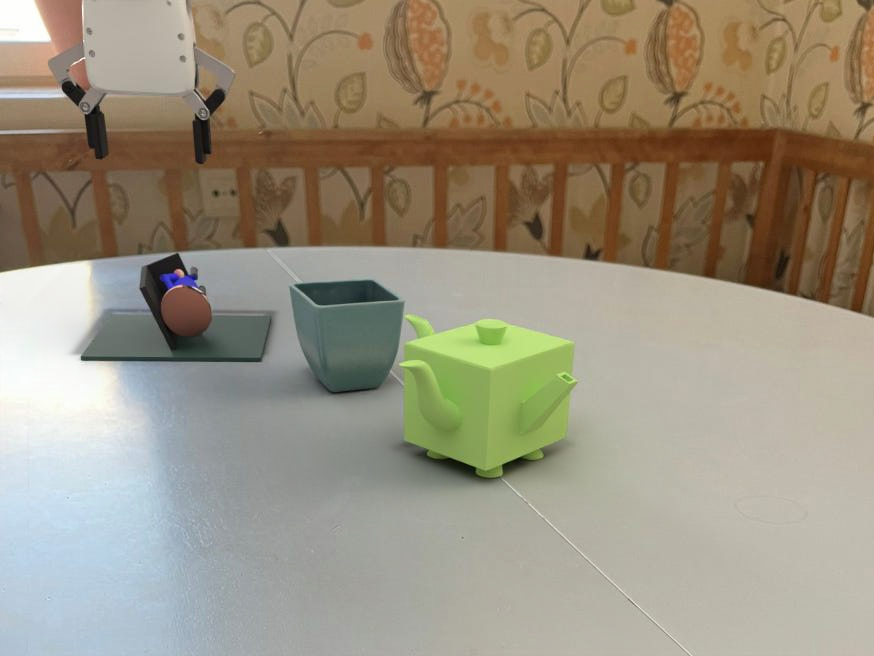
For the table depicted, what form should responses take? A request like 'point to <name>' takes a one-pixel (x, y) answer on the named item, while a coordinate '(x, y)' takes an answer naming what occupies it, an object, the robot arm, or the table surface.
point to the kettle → (486, 392)
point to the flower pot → (348, 330)
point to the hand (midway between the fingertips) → (152, 159)
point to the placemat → (179, 340)
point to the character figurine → (175, 298)
